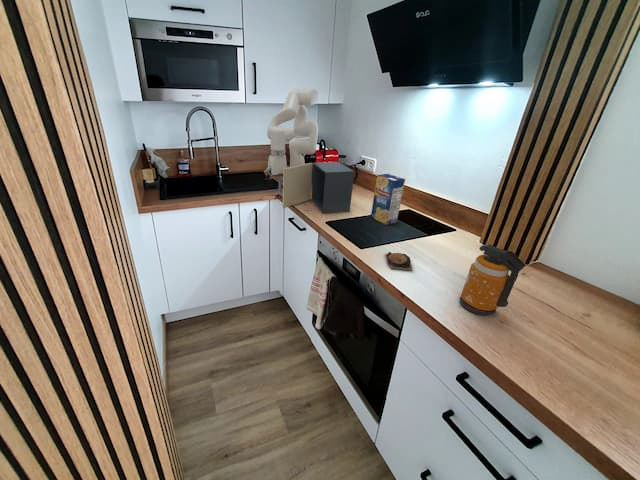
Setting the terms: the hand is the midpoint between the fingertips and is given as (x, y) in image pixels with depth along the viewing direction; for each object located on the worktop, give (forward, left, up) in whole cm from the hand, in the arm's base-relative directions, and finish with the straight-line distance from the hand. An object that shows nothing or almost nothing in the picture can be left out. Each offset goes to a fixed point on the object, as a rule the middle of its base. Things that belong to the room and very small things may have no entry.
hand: (277, 183), depth 157 cm
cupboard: (+7, +29, -12) cm, 32 cm away
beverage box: (+31, +49, -12) cm, 59 cm away
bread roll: (+69, +34, -12) cm, 78 cm away
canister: (+96, +44, -12) cm, 106 cm away
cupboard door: (-1, +10, -12) cm, 15 cm away
